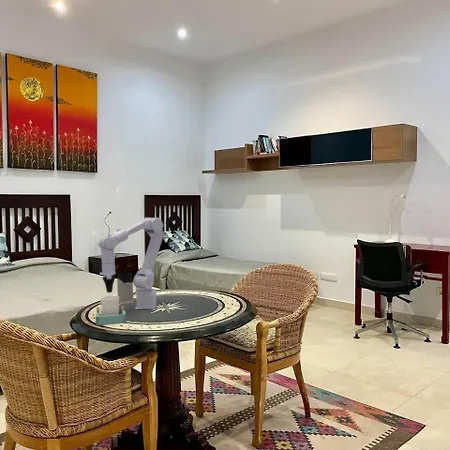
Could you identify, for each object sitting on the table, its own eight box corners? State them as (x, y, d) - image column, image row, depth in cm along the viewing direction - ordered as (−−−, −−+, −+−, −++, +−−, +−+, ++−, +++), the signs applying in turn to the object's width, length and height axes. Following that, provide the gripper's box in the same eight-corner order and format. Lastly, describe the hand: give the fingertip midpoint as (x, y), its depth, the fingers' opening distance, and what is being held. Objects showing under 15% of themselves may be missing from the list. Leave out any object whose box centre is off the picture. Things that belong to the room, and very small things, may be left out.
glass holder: (114, 301, 232) (113, 273, 231) (139, 297, 241) (138, 269, 240) (121, 304, 225) (120, 275, 224) (146, 300, 234) (145, 271, 233)
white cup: (100, 323, 191) (99, 300, 190) (102, 318, 199) (101, 296, 198) (119, 321, 192) (118, 298, 191) (120, 317, 200) (119, 295, 199)
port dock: (125, 317, 198) (125, 310, 198) (126, 322, 190) (125, 314, 190) (96, 320, 195) (95, 312, 195) (96, 325, 187) (95, 317, 187)
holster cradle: (123, 311, 211) (123, 304, 211) (124, 315, 203) (124, 308, 203) (97, 313, 208) (96, 307, 208) (96, 317, 200) (96, 311, 200)
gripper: (99, 261, 210) (100, 290, 210) (99, 265, 196) (100, 296, 196) (114, 260, 211) (115, 288, 212) (115, 264, 197) (116, 294, 198)
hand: (109, 292), depth 204 cm, fingers closed
